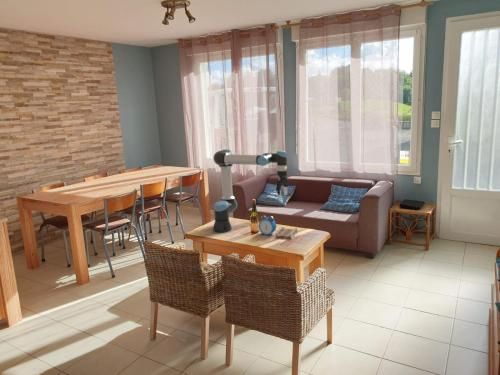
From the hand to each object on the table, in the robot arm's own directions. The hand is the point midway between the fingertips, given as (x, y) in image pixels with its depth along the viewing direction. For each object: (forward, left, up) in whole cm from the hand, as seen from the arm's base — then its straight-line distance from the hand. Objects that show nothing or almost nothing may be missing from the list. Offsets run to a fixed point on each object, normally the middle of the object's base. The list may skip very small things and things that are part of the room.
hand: (282, 196), depth 323 cm
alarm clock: (-9, -15, -28) cm, 32 cm away
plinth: (+6, -13, -28) cm, 31 cm away
